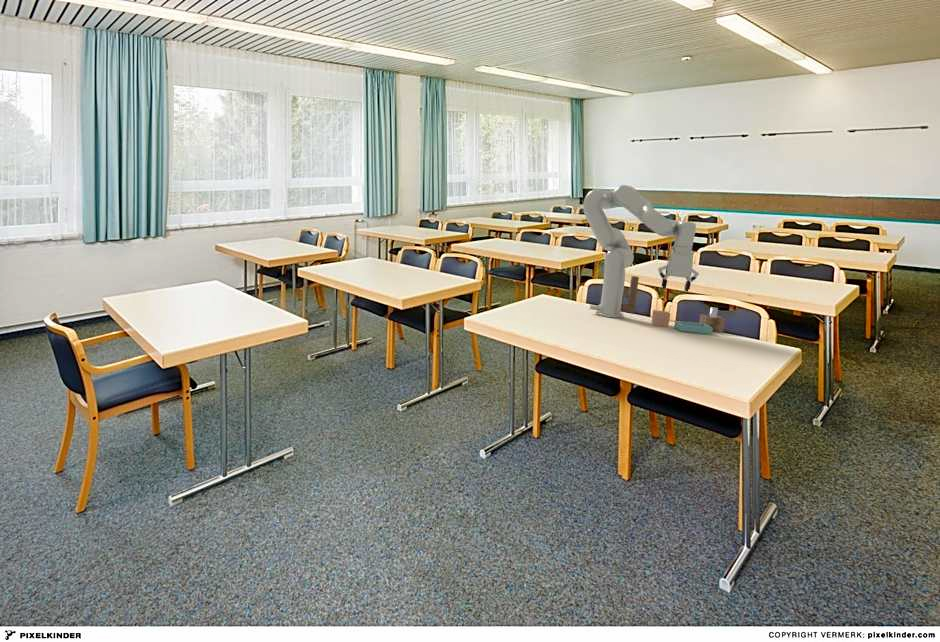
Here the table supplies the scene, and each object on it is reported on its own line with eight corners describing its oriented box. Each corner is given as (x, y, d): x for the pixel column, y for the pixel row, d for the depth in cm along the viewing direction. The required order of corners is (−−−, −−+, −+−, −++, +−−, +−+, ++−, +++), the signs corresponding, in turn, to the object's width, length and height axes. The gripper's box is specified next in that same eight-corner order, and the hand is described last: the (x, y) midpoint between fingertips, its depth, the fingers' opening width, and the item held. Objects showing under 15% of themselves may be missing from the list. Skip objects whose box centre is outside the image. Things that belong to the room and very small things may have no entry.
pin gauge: (708, 330, 255) (711, 307, 253) (706, 329, 258) (709, 307, 256) (715, 331, 255) (719, 308, 253) (713, 329, 258) (716, 307, 256)
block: (654, 325, 256) (656, 312, 254) (651, 323, 261) (653, 310, 260) (668, 327, 255) (670, 313, 254) (665, 324, 261) (666, 311, 260)
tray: (680, 331, 245) (681, 324, 245) (674, 327, 255) (675, 320, 254) (711, 335, 244) (712, 327, 244) (704, 330, 254) (705, 323, 253)
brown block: (704, 330, 253) (706, 317, 252) (698, 327, 261) (700, 314, 260) (722, 332, 252) (725, 319, 251) (716, 329, 260) (719, 316, 259)
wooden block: (615, 309, 297) (620, 274, 294) (635, 312, 291) (640, 276, 287) (612, 309, 294) (617, 274, 291) (632, 313, 288) (637, 277, 285)
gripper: (664, 248, 249) (657, 288, 252) (705, 253, 248) (697, 293, 251) (659, 247, 256) (653, 286, 259) (699, 252, 255) (692, 290, 259)
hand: (675, 289), depth 255 cm, fingers open, 9 cm apart
